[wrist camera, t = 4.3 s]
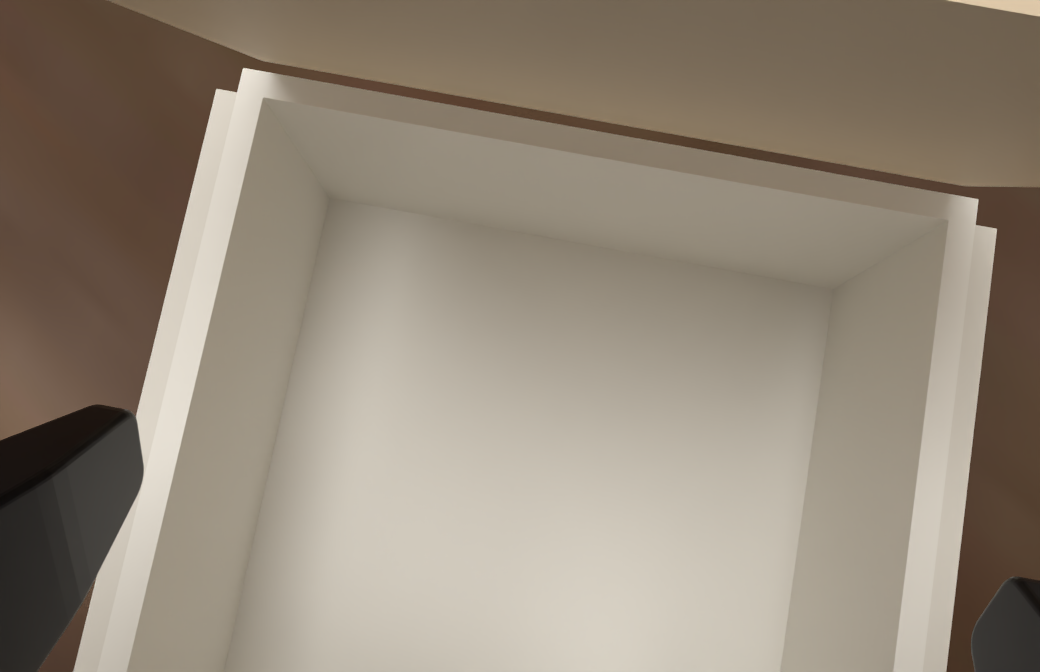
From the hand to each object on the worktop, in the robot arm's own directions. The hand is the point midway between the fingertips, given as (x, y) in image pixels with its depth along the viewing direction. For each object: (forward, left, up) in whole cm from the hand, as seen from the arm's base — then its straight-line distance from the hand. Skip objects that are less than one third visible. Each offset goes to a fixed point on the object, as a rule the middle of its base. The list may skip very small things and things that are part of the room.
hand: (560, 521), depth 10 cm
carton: (-1, -1, -14) cm, 14 cm away
